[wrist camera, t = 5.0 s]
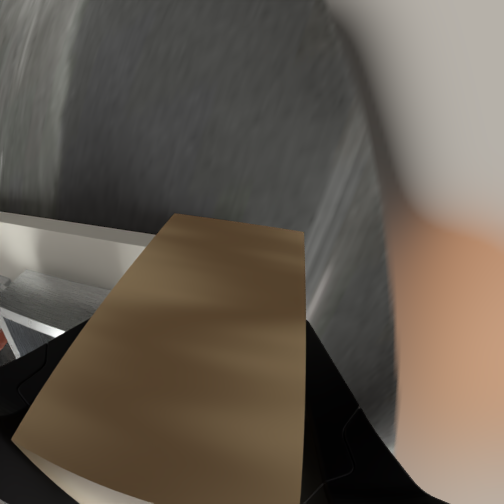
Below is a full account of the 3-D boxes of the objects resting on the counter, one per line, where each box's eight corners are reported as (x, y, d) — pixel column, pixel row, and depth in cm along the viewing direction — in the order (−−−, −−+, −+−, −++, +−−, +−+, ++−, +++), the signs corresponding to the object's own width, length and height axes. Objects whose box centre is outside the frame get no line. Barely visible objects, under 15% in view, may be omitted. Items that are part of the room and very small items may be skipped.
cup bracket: (124, 282, 18) (84, 337, 14) (139, 364, 22) (114, 417, 18) (-11, 249, 19) (-51, 283, 15) (15, 322, 23) (-15, 358, 19)
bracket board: (224, 245, 18) (219, 258, 17) (216, 387, 24) (212, 402, 23) (-7, 210, 19) (-19, 218, 18) (31, 333, 26) (23, 343, 24)
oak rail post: (304, 232, 10) (297, 528, 3) (283, 330, 12) (257, 554, 5) (174, 213, 10) (11, 439, 3) (176, 312, 12) (89, 511, 5)
